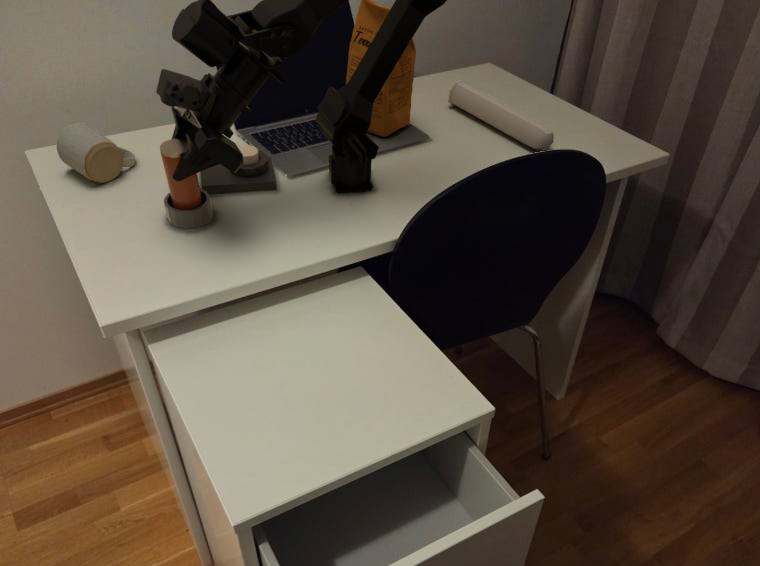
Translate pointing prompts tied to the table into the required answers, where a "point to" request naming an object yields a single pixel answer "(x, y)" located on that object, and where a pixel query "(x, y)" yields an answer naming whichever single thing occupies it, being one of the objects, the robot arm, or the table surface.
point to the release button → (249, 155)
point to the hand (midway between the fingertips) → (171, 171)
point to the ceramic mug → (92, 153)
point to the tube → (501, 116)
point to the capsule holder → (189, 213)
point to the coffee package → (397, 90)
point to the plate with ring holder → (240, 177)
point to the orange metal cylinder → (185, 190)
